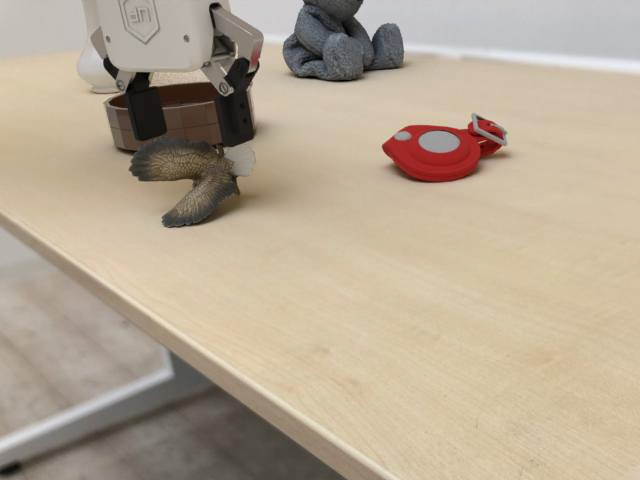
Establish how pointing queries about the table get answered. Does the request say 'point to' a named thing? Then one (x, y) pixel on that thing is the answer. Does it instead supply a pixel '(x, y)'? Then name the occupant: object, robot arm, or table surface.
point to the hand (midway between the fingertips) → (194, 140)
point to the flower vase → (94, 55)
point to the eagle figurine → (193, 173)
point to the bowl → (174, 115)
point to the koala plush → (339, 42)
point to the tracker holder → (444, 148)
